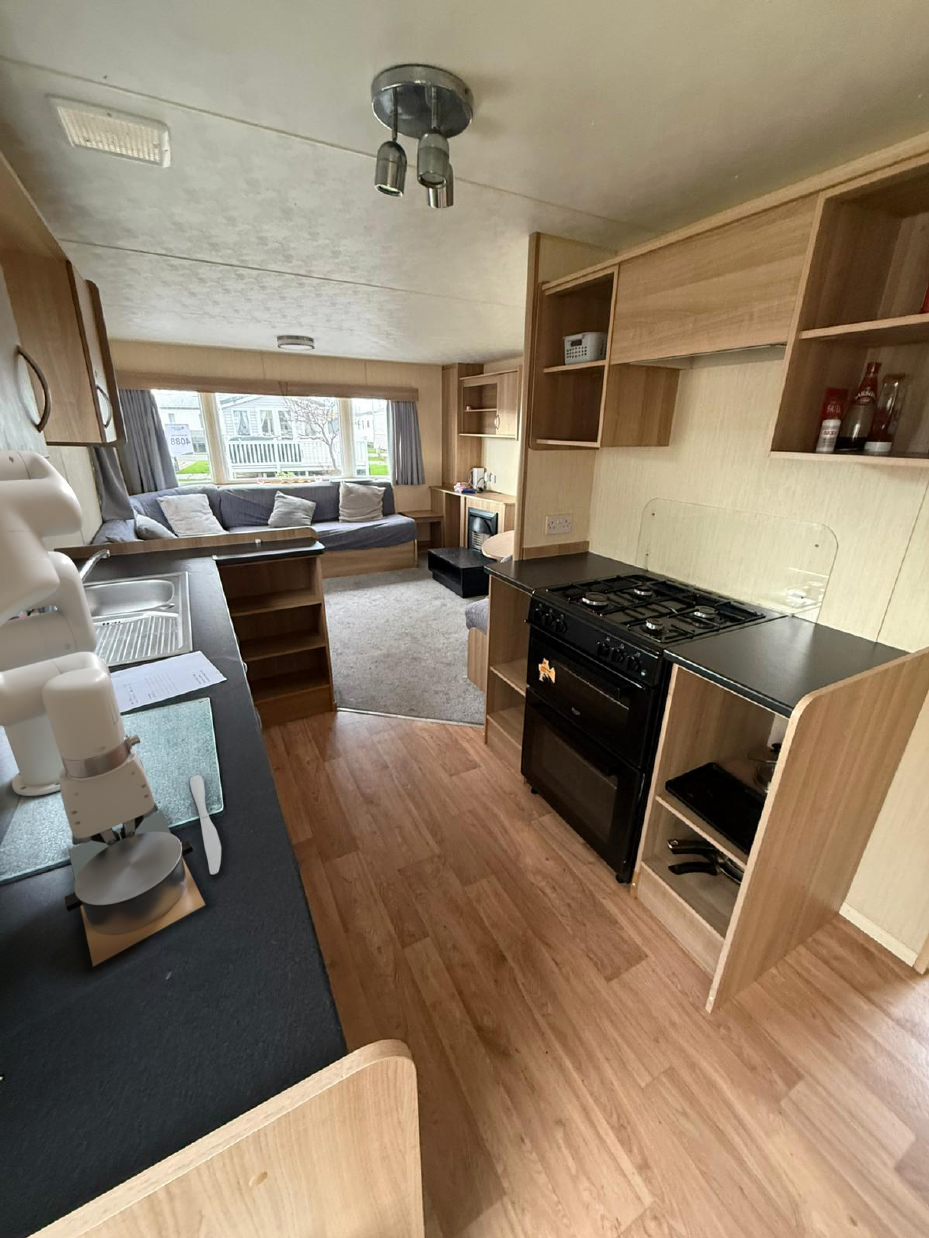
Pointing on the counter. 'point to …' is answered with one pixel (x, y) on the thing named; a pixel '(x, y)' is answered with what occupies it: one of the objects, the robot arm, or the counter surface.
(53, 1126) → the counter surface
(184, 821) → the counter surface
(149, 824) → the gray square tile
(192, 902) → the trivet
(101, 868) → the pot
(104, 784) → the robot arm
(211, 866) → the butter knife
